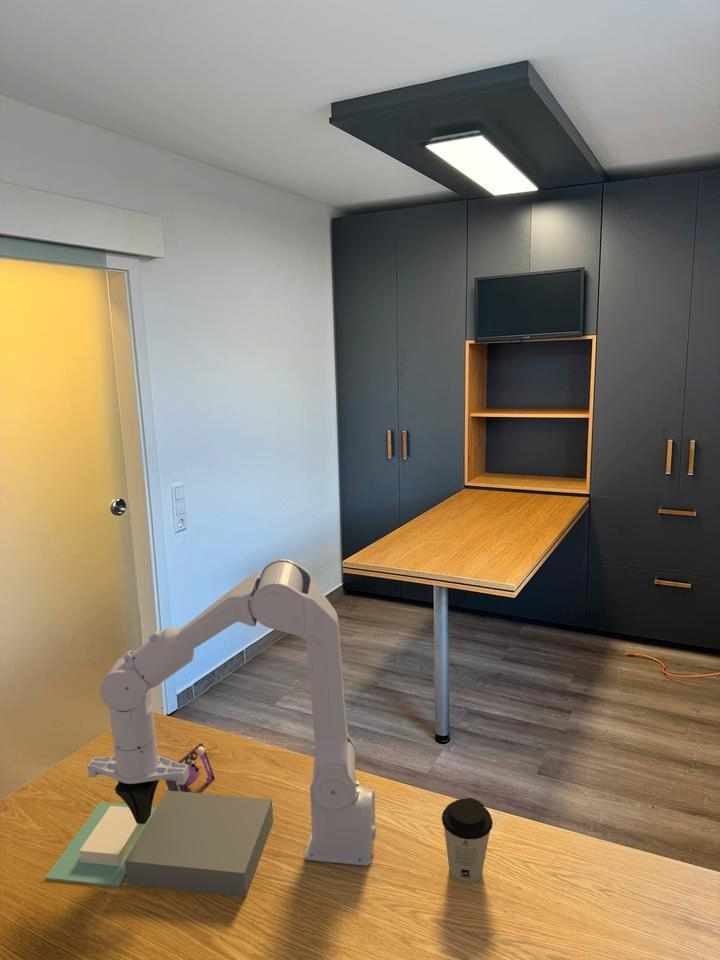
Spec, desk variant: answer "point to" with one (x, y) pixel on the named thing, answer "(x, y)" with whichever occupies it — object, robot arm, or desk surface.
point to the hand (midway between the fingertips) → (143, 818)
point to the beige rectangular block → (111, 838)
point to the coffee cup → (466, 838)
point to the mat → (89, 873)
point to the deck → (201, 844)
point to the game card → (193, 771)
